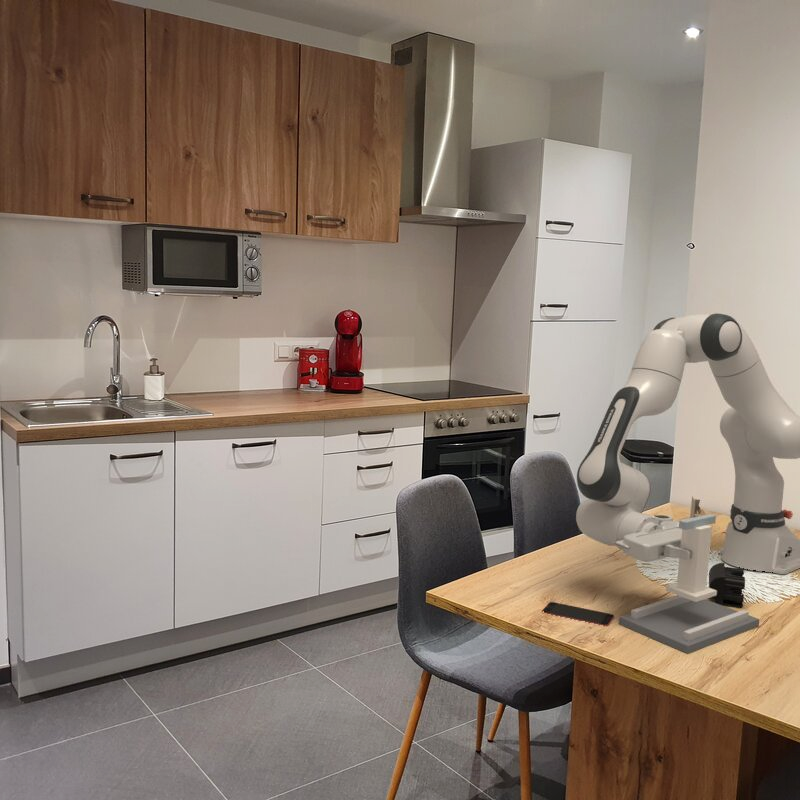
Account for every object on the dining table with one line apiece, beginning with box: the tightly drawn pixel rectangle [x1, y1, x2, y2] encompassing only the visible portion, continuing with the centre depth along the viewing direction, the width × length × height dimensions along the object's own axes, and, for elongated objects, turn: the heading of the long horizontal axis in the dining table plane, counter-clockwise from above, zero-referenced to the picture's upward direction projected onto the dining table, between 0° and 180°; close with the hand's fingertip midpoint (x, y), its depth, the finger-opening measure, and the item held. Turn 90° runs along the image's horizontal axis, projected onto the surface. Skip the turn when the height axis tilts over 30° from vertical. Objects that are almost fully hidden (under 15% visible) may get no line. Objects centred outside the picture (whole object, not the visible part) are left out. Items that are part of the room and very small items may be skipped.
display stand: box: [664, 513, 717, 602], centre depth 166 cm, size 7×10×16 cm
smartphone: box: [541, 601, 616, 627], centre depth 172 cm, size 7×1×14 cm
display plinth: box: [618, 595, 760, 654], centre depth 168 cm, size 24×16×3 cm, turn 126°
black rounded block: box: [708, 562, 746, 609], centre depth 183 cm, size 10×7×7 cm
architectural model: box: [689, 496, 707, 518], centre depth 243 cm, size 3×7×7 cm, turn 168°
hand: (698, 553), depth 165 cm, fingers closed on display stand, 4 cm apart
